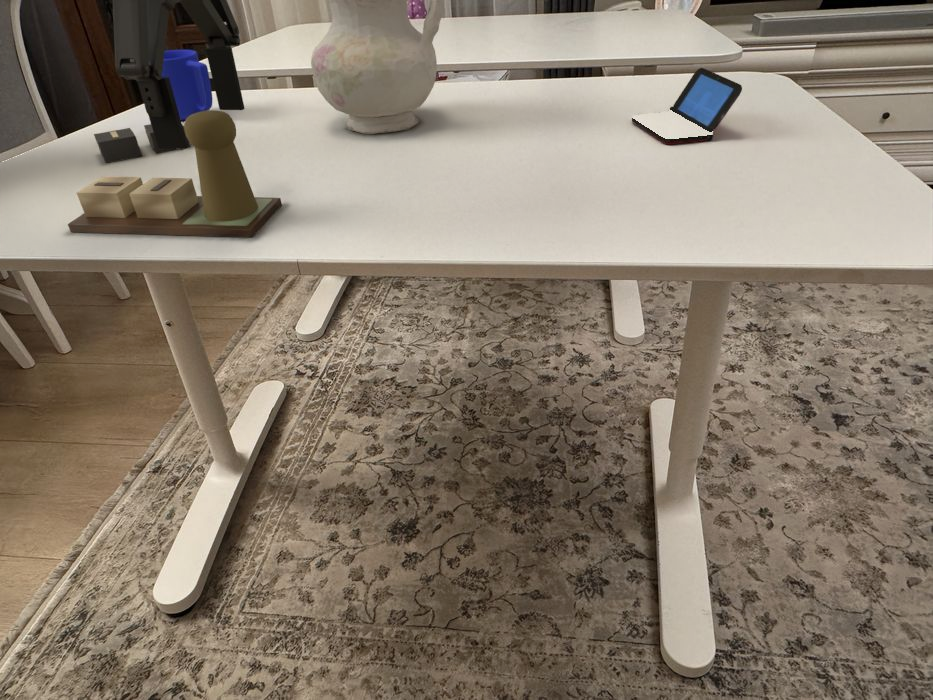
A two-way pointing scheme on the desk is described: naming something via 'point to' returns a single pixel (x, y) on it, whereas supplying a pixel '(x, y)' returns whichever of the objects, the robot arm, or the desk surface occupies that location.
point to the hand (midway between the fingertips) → (205, 127)
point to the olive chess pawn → (219, 166)
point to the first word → (125, 144)
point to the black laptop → (702, 104)
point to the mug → (188, 81)
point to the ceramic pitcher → (376, 63)
